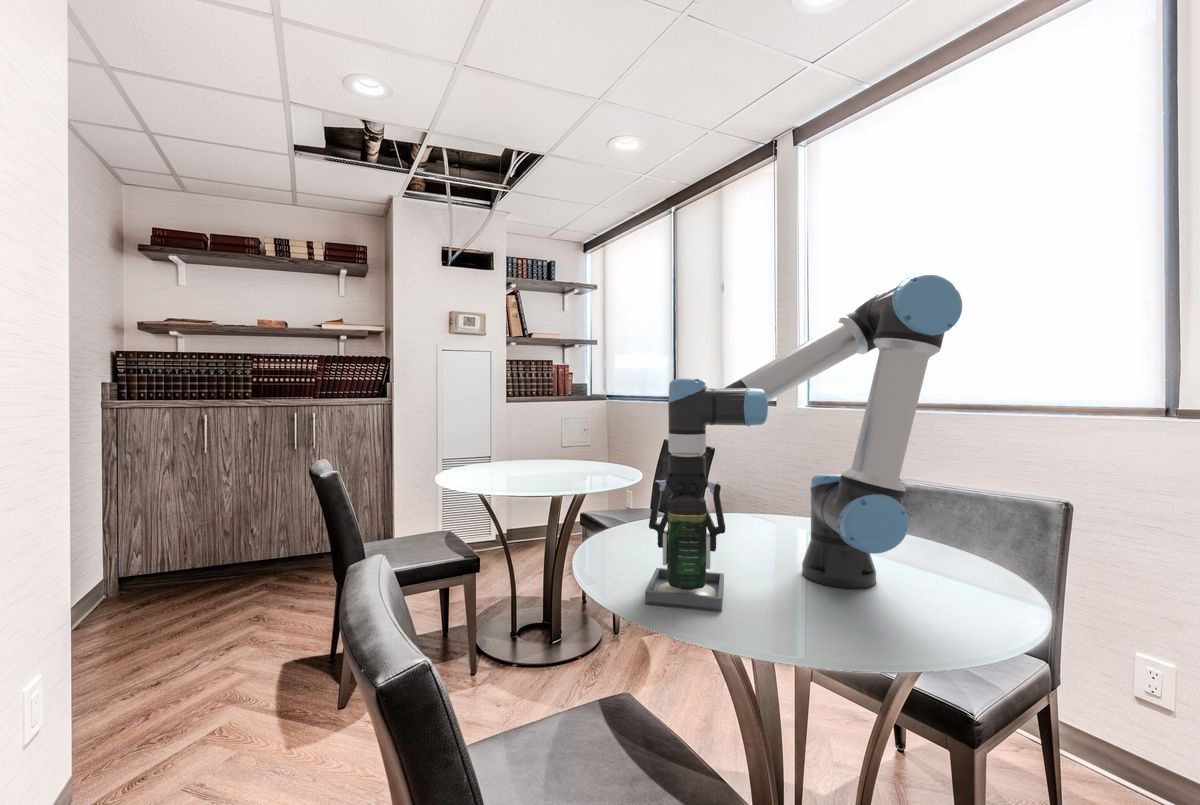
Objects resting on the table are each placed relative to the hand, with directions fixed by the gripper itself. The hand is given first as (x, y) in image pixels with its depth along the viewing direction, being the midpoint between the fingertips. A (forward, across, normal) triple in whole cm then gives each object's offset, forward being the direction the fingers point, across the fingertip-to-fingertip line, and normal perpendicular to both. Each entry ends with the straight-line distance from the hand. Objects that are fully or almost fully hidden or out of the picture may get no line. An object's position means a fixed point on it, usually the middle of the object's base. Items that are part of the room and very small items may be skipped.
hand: (686, 564), depth 109 cm
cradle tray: (+6, 0, 0) cm, 6 cm away
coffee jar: (+4, 0, 0) cm, 4 cm away
